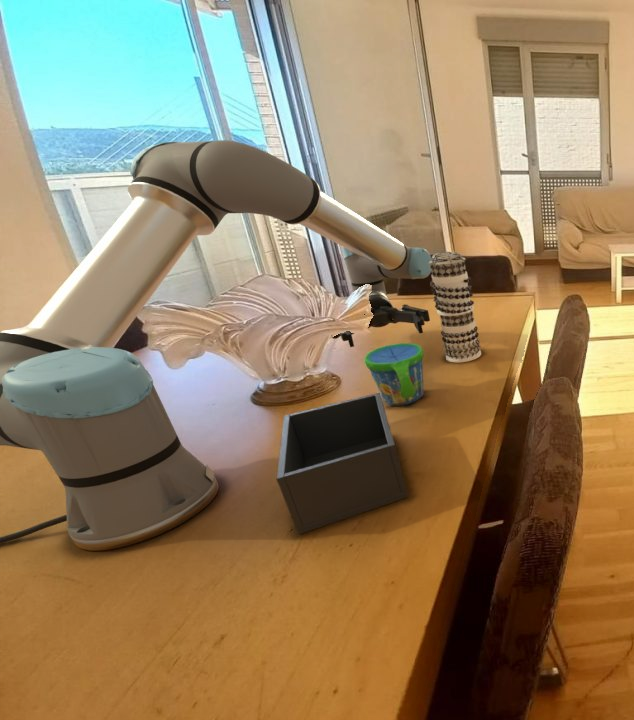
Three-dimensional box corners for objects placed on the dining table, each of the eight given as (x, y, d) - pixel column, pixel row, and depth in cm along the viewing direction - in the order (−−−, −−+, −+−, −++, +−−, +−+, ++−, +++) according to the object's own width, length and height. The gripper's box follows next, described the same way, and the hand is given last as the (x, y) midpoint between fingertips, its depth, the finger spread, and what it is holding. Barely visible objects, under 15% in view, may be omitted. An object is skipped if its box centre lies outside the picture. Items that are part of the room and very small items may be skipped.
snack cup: (437, 408, 92) (427, 360, 88) (378, 422, 88) (365, 373, 84) (426, 378, 105) (417, 335, 101) (374, 389, 101) (362, 345, 97)
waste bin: (298, 535, 62) (276, 479, 58) (301, 463, 77) (283, 415, 73) (408, 497, 68) (394, 444, 65) (391, 437, 83) (379, 392, 79)
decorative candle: (466, 345, 122) (449, 248, 112) (490, 353, 118) (475, 251, 107) (436, 358, 116) (415, 255, 105) (460, 366, 111) (441, 259, 101)
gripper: (431, 313, 124) (449, 337, 107) (322, 333, 113) (324, 363, 96) (425, 286, 121) (443, 306, 104) (313, 303, 110) (313, 329, 93)
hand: (386, 333), depth 100 cm, fingers open, 13 cm apart
